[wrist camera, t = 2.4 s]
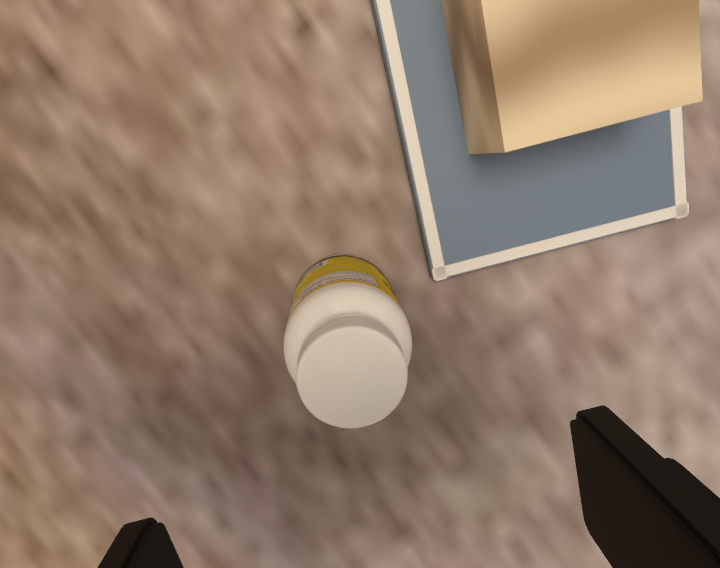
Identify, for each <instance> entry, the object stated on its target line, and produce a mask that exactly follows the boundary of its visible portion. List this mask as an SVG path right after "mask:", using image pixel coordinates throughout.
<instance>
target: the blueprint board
mask: <svg viewBox="0 0 720 568" xmlns="http://www.w3.org/2000/svg"><path fill="white" fill-rule="evenodd" d="M370 1H371V6H372V11H373V15H374V20H375V25H376V29H377V34H378V38H379V43H380V48H381V52H382V57H383V61H384V66H385V71H386V75H387V80H388V85H389V89H390V94H391V98H392V103H393V108H394V112H395V117H396V121H397V126H398V131H399V135H400V140H401V145H402V149H403V154H404V158H405V163H406V168H407V172H408V177H409V181H410V186H411V191H412V195H413V200H414V205H415V209H416V214H417V218H418V223H419V228H420V232H421V237H422V241H423V246H424V251H425V255H426V260H427V265H428V269H429V274H430V277H431V278H432V279H433V281H439V280H443V279H447V278H448V277H452V276H456V275H460V274H464V273H468V272H471V271H475V270H479V269H483V268H487V267H491V266H494V265H498V264H502V263H506V262H510V261H514V260H518V259H521V258H525V257H529V256H533V255H537V254H541V253H544V252H548V251H552V250H556V249H560V248H564V247H568V246H571V245H575V244H579V243H583V242H587V241H591V240H594V239H598V238H602V237H606V236H610V235H614V234H618V233H621V232H625V231H629V230H633V229H637V228H641V227H644V226H648V225H652V224H656V223H660V222H664V221H667V220H671V219H677V218H681V217H685V216H687V215H688V214H689V203H688V202H687V191H686V172H685V152H684V132H683V113H682V106H681V107H677V108H673V109H669V110H666V111H662V112H658V113H654V114H650V115H646V116H643V117H639V118H635V119H631V120H627V121H624V122H620V123H616V124H612V125H608V126H604V127H601V128H597V129H593V130H589V131H585V132H582V133H578V134H574V135H570V136H566V137H562V138H559V139H555V140H551V141H547V142H543V143H540V144H536V145H532V146H528V147H524V148H521V149H517V150H513V151H509V152H505V153H485V154H468V151H467V146H466V140H465V134H464V129H463V123H462V118H461V112H460V106H459V101H458V95H457V90H456V84H455V78H454V73H453V67H452V62H451V56H450V50H449V45H448V39H447V34H446V28H445V22H444V17H443V11H442V6H441V0H370Z"/></svg>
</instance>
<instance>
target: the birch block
mask: <svg viewBox="0 0 720 568" xmlns="http://www.w3.org/2000/svg"><path fill="white" fill-rule="evenodd" d="M441 6H442V11H443V17H444V22H445V28H446V34H447V39H448V45H449V50H450V56H451V62H452V67H453V73H454V78H455V84H456V90H457V95H458V101H459V106H460V112H461V118H462V123H463V129H464V134H465V140H466V146H467V151H468V154H485V153H505V152H509V151H513V150H517V149H521V148H524V147H528V146H532V145H536V144H540V143H543V142H547V141H551V140H555V139H559V138H562V137H566V136H570V135H574V134H578V133H582V132H585V131H589V130H593V129H597V128H601V127H604V126H608V125H612V124H616V123H620V122H624V121H627V120H631V119H635V118H639V117H643V116H646V115H650V114H654V113H658V112H662V111H666V110H669V109H673V108H677V107H681V106H685V105H688V104H692V103H696V102H700V101H702V75H701V49H700V24H699V0H441Z"/></svg>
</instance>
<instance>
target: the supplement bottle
mask: <svg viewBox="0 0 720 568" xmlns="http://www.w3.org/2000/svg"><path fill="white" fill-rule="evenodd" d="M283 347H284V358H285V362H286V366H287V368H288V371H289V373H290V375H291V376H292V378H293V380H294V381H295V382H296V384H297V389H298V393H299V395H300V398H301V400H302V402H303V403H304V405H305V406H306V408H307V409H308V410H309V411H310V412H311V413H312V414H313V415H314V416H315V417H317V418H318V419H319V420H321V421H323V422H325V423H327V424H329V425H332V426H336V427H341V428H361V427H365V426H369V425H372V424H374V423H376V422H378V421H380V420H382V419H384V418H385V417H386V416H388V415H389V414H390V413H391V412H392V411H393V410H394V409H395V408H396V407H397V405H398V404H399V402H400V401H401V399H402V397H403V395H404V393H405V390H406V386H407V380H408V369H407V368H408V365H409V362H410V358H411V353H412V335H411V330H410V326H409V324H408V321H407V318H406V316H405V314H404V312H403V310H402V308H401V306H400V304H399V302H398V300H397V299H396V297H395V295H394V293H393V291H392V289H391V287H390V285H389V283H388V281H387V280H386V278H385V276H384V275H383V274H382V272H381V271H380V270H379V269H378V268H377V267H376V266H375V265H374V264H372V263H371V262H369V261H367V260H366V259H363V258H361V257H358V256H354V255H348V254H339V255H332V256H328V257H325V258H323V259H320V260H319V261H317V262H315V263H314V264H313V265H311V266H310V267H309V268H308V269H307V270H306V271H305V272H304V274H303V275H302V277H301V278H300V280H299V282H298V284H297V287H296V290H295V293H294V296H293V301H292V305H291V309H290V313H289V317H288V321H287V325H286V328H285V335H284V344H283Z"/></svg>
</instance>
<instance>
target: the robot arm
mask: <svg viewBox="0 0 720 568" xmlns="http://www.w3.org/2000/svg"><path fill="white" fill-rule="evenodd" d="M570 428H571V434H572V441H573V448H574V455H575V462H576V469H577V475H578V482H579V489H580V496H581V503H582V510H583V516H584V521H585V524H586V526H587V529H588V531H589V533H590V535H591V536H592V538H593V539H594V541H595V542H596V544H597V545H598V547H599V548H600V550H601V551H602V553H603V554H604V556H605V557H606V558H607V560H608V561H609V563H610V564H611V566H612V567H613V568H720V498H719V497H718V496H716V495H715V494H714V493H713V492H712V491H711V490H710V489H708V488H707V487H706V486H705V485H704V484H703V483H702V482H700V481H699V480H698V479H697V478H696V477H695V476H694V475H692V474H691V473H690V472H689V471H688V470H687V469H686V468H684V467H683V466H682V465H681V464H680V463H678V462H677V461H675V460H674V459H671V458H665V459H664V458H663V457H662V456H661V455H660V454H659V453H657V452H656V451H655V450H654V449H653V448H652V447H651V446H650V445H649V444H647V443H646V442H645V441H644V440H643V439H642V438H641V437H640V436H639V435H637V434H636V433H635V432H634V431H633V430H632V429H631V428H630V427H629V426H628V425H626V424H625V423H624V422H623V421H622V420H621V419H620V418H619V417H618V416H616V415H615V414H614V413H613V412H612V411H611V410H610V409H609V408H607V407H606V406H598V407H594V408H590V409H586V410H582V411H578V412H577V415H576V419H575V420H572V421H571V422H570ZM98 568H183V565H182V563H181V561H180V559H179V556H178V554H177V552H176V550H175V547H174V545H173V543H172V541H171V539H170V536H169V534H168V532H167V530H166V527H165V526H164V524H163V523H157V521H156V520H155V519H154V518H147V519H143V520H139V521H135V522H131V523H127V524H125V525H124V526H123V527H122V528H121V530H120V531H119V533H118V535H117V536H116V538H115V540H114V541H113V543H112V545H111V546H110V548H109V550H108V551H107V553H106V555H105V556H104V558H103V560H102V561H101V563H100V565H99V566H98Z"/></svg>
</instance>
